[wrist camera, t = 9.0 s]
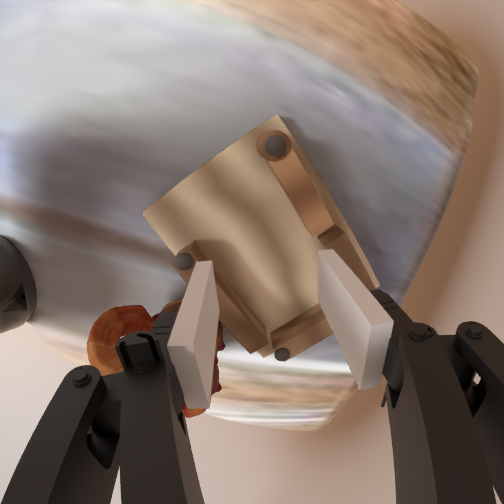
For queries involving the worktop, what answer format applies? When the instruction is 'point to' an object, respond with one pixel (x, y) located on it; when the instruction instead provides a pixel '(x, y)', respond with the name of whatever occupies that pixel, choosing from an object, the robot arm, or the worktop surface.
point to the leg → (294, 181)
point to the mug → (131, 321)
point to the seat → (256, 246)
